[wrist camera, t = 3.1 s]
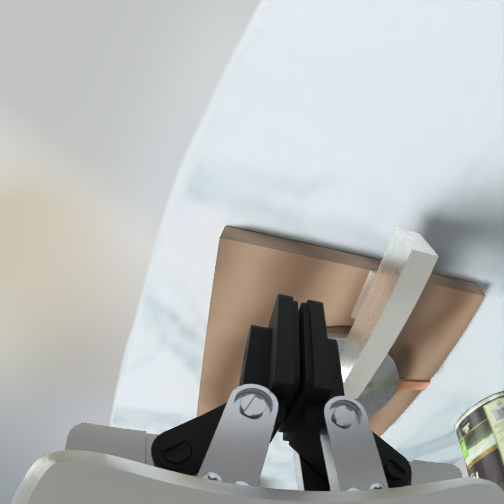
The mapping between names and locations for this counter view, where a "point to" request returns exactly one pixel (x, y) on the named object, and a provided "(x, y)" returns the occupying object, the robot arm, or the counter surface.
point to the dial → (383, 320)
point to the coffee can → (484, 439)
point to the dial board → (335, 308)
